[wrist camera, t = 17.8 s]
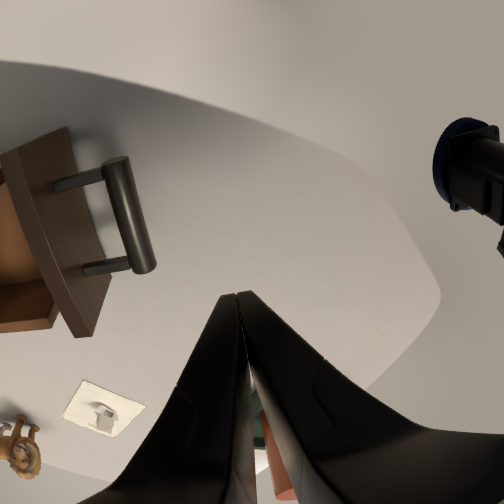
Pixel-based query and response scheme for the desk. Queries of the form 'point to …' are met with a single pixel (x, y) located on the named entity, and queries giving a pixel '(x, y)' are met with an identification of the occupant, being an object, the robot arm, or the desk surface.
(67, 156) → the drawer
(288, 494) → the orange cylinder
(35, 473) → the lion figurine
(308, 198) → the desk surface
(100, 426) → the adhesive hook
